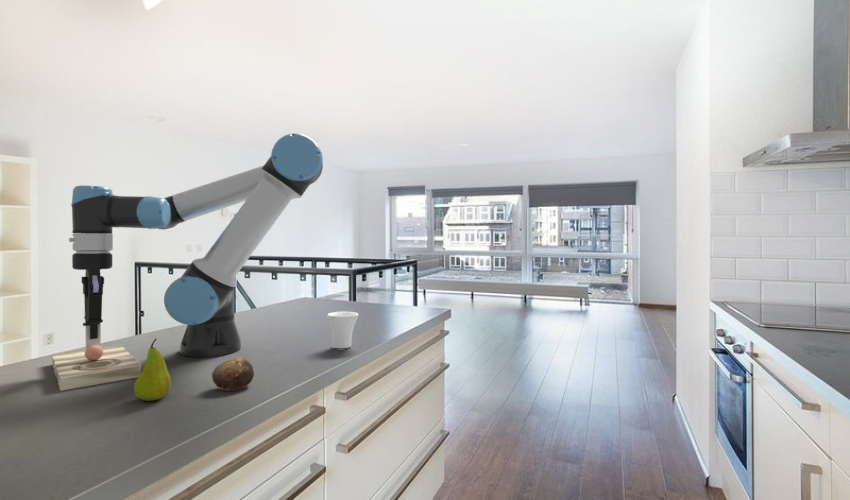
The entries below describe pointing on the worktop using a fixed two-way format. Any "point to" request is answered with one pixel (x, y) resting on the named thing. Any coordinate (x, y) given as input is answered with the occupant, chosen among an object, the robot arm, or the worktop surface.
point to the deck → (94, 367)
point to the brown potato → (233, 374)
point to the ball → (94, 352)
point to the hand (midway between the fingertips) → (93, 351)
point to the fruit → (153, 377)
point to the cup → (342, 328)
